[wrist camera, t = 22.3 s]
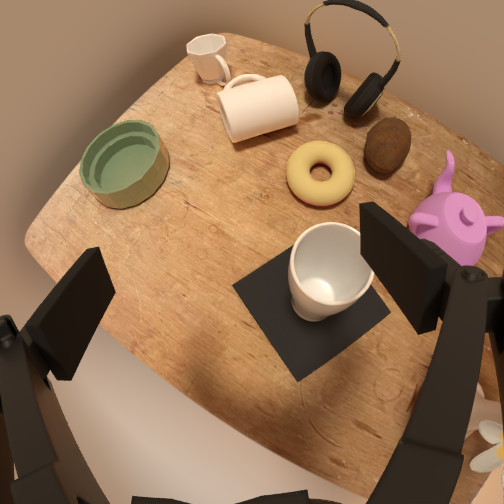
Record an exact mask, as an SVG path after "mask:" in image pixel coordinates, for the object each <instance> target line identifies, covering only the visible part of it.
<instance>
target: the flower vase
mask: <svg viewBox="0 0 504 504" xmlns="http://www.w3.org/2000/svg"><path fill="white" fill-rule="evenodd" d="M474 430H479V432H480V434H481V435H482V437H483V438H484V439H485V440H486V441H488V442H489V443H491V444H497V443H498V444H497V445H495V446H494V447H492V448H490V449H488V450H486V451H484V452H482V453H480V454H479V455H477V456H476V457H475V458H473V460H472V461H471V463H470V467H471V470H473V471H475V472H480V473H484V472H490V471H493V470H495V469H497V468H499V467H501V466H502V465H503V464H504V437H503V423H502V412H501V403H500V402H498V401H491V400H487V399H484V393H483V390H482V387H481V385H480V384H479V383H478V384H477V389H476V394H475V399H474V404H473V408H472V413H471V417H470V421H469V425H468V429H467V433H466V436H465V439H466V438H467V437H469V436H470V435H471V434H472V433H473V432H474ZM502 487H503V490H504V469H503V473H502Z"/></svg>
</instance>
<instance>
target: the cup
mask: <svg viewBox="0 0 504 504" xmlns="http://www.w3.org/2000/svg"><path fill="white" fill-rule="evenodd" d="M186 46H187V53H188V55H189V57H190V59H191V61H192V63H193V65H194V67H195V69H196V71H197V72H198V74H199V75H200V77H201V78H202V80H203V83H206V84H209V85H212V84H216V83H217V84H219V85H221V86H225V85H227V84H228V83H229V82H230V81H231V75H230V72H229V68H228V66H227V64H226V41H225V38H224V36H220V35H216V34H207V35H203V36H198V37H196V38H194V39H193V40H192V41H191V42H189V43H188V44H187V45H186ZM224 73H225V75H224ZM225 76H226V83H225V82H222V80H223V79H224V78H225Z"/></svg>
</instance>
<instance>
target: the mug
mask: <svg viewBox="0 0 504 504" xmlns="http://www.w3.org/2000/svg"><path fill="white" fill-rule="evenodd" d="M248 81H255V82H251V83H248V84H244V85H241V86H237V87H234V86H236V85H238V84H241V83H244V82H248ZM233 87H234V88H233ZM216 98H217V103H218V107H219V110H220V114H221V117H222V120H223V123H224V126H225V128H226V131H227V133H228V136H229V138H230V140H231V141H232V142H233V143H236V142H239V141H242V140H245V139H249V138H252V137H255V136H258V135H261V134H265V133H268V132H271V131H275V130H278V129H282V128H285V127H289V126H292V125H295V124H297V123H298V120H299V107H298V102H297V99H296V95H295V93H294V90H293V88H292V86H291V84H290V83H289V81H288V80H287V79H286V78H285V77H284V76H282V75H279V76H275V77H271V78H267V79H266V78H265V77H263V76H260V75H256V74H245V75H241V76H238V77H236V78H234V79H233V80H231V81H230V82H229V83H228V84H227V85H226V86H225V87H224V89H223V91H221V92H218V93H217V94H216Z"/></svg>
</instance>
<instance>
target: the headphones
mask: <svg viewBox="0 0 504 504" xmlns="http://www.w3.org/2000/svg"><path fill="white" fill-rule="evenodd" d="M333 4H334V5H344V6H348V7H351V8H353V9H356V10H359V11H362V12H364V13H366V14H368V15H369V16H371V17H373V18H374V19H375V20H377V21H378V22H379V23H381V25H383V27H385V28H386V29H387V30H388V31H389V33H390V35H391V36H392V38H393V40H394V43H395V45H396V50H397V58H396V59H395V61H394V63H393V65H392V67H391V69H390V70H389V71H388V73H387V74H386V75H385V76H384V77H383V78H382V77H381V76H380V75H379V74H377V73H371V74H370V75H369V76H368V77H367V78H366V80H365V81H364V82H363V83H362V85H361V86H360V87H359V88H358V90H357V91H356V92H355V93H354V94H353V96H352V97H351V98H350V100H349V101H348V102H347V103H346V105H345V106H344V111H345V112H346V114H347V115H349V116H350V117H360V116H363V115H365V114H366V113H367V112H368V111H369V110H370V109H371V108H372V107H373V106H374V105H375V104H376V102H377V101H378V100H379V98H380V97H381V95H382V94H383V91H384V90H385V88H384V86H385V85H386V84H387V83H388V82H389V80H390V79H391V78H392V77H393V75H394V74H395V72H396V71H397V68H398V66H399V64H400V56H401V54H400V47H399V44H398V41H397V39H396V37H395V35H394V33H393V32H392V30H391V29H390V27H389V25H388V23H387V22H386V21H385V19H384V18H383V17H382V16H381V15H380V14H379V13H377V12H376V11H375V10H374V9H373V8H371V7H370V6H368V5H366V4H363V3H361V2H359V1H355V0H328V1H324V2H323V3H322V4H320V5H318V6H316V7H315V8H313V9H312V10H311V12H310V13H309V14H308V16H307V18H306V21H305V37H306V42H307V47H308V51H309V55H310V60H309V61H308V63H307V64H306V67H305V70H304V83H305V86H306V88H307V91H308V92H309V94H310V95H311V97H312V98H314V99H315V100H317V101H323V102H324V101H328V100H330V99H332V98H333V97H334V96H335V94H336V93H337V91H338V88H339V86H340V81H341V67H340V64H339V61H338V60H337V58H336V57H335V56H334V55H333V54H332V53H329V52H318V53H317V52H316V49H315V46H314V43H313V39H312V36H311V30H310V23H309V20H310V17H311V15H312V14H313V12H314V11H315V10H317V9H318V8H320V7H322V6H324V5H333Z"/></svg>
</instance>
